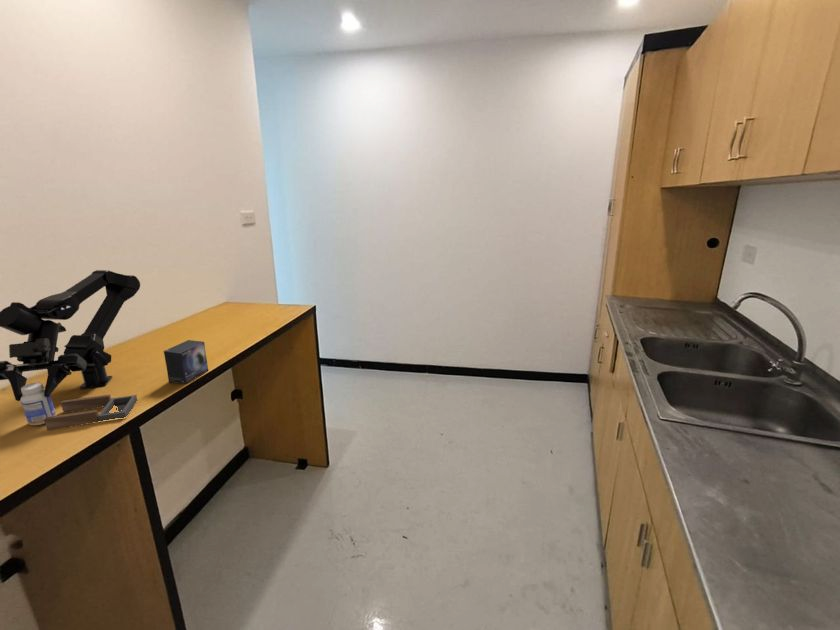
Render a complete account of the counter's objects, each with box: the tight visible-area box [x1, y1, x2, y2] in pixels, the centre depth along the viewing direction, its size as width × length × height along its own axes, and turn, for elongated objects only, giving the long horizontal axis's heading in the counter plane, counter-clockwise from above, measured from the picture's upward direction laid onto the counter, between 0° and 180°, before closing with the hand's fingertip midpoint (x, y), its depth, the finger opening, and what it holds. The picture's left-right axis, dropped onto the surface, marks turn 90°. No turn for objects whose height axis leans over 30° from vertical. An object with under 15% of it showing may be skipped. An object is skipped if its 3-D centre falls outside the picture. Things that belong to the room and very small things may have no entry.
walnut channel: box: [44, 394, 111, 431], centre depth 105 cm, size 10×10×3 cm
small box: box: [163, 339, 209, 384], centre depth 127 cm, size 11×6×10 cm, turn 168°
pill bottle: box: [19, 382, 57, 426], centre depth 101 cm, size 5×5×10 cm
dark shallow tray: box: [98, 394, 138, 421], centre depth 108 cm, size 10×6×2 cm, turn 20°
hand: (32, 398), depth 99 cm, fingers closed on pill bottle, 5 cm apart
